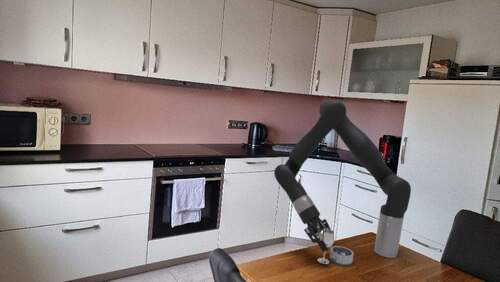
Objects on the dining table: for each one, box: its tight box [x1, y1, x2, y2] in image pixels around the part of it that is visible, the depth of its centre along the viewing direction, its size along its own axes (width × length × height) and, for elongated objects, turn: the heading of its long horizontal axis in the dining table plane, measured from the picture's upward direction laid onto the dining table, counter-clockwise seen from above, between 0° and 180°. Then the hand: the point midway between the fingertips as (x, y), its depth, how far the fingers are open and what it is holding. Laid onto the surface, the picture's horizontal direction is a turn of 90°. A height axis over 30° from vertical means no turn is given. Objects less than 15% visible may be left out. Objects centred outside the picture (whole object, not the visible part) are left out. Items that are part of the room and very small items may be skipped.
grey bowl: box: [328, 245, 355, 267], centre depth 132 cm, size 9×9×4 cm
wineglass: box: [317, 228, 335, 265], centre depth 128 cm, size 6×6×12 cm
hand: (329, 248), depth 127 cm, fingers closed on wineglass, 5 cm apart
